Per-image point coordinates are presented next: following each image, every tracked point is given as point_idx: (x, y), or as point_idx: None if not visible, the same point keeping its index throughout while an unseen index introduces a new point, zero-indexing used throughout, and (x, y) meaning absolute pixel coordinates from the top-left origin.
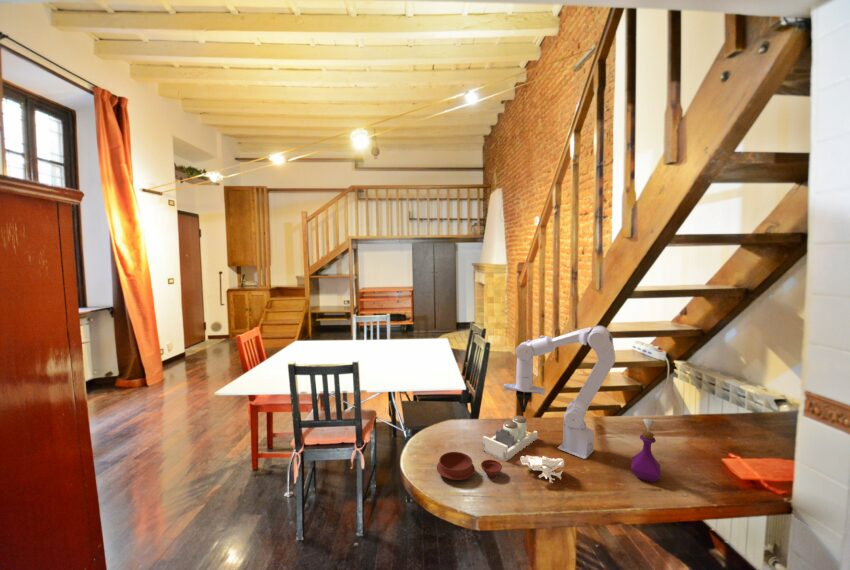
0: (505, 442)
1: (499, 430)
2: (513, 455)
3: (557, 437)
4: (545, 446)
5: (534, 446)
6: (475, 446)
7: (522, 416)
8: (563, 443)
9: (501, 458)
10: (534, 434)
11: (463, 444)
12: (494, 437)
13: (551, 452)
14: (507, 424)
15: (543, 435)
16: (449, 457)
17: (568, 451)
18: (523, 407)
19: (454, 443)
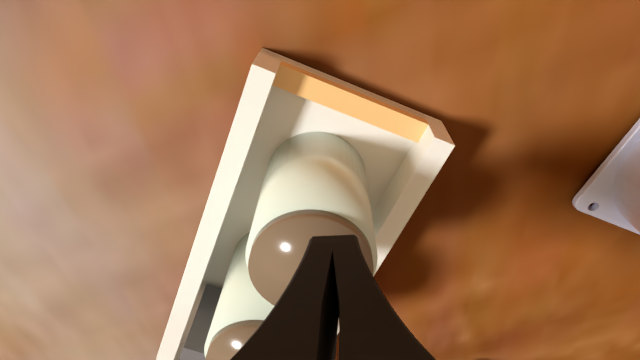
0: None
1: (198, 354)
2: None
3: (610, 34)
4: (491, 196)
5: (420, 219)
6: (116, 317)
7: (328, 224)
8: (629, 211)
9: None
10: (428, 181)
11: (54, 320)
12: (183, 314)
13: (519, 245)
14: None
15: (494, 46)
16: None
17: (632, 227)
18: (334, 284)
19: (11, 325)
